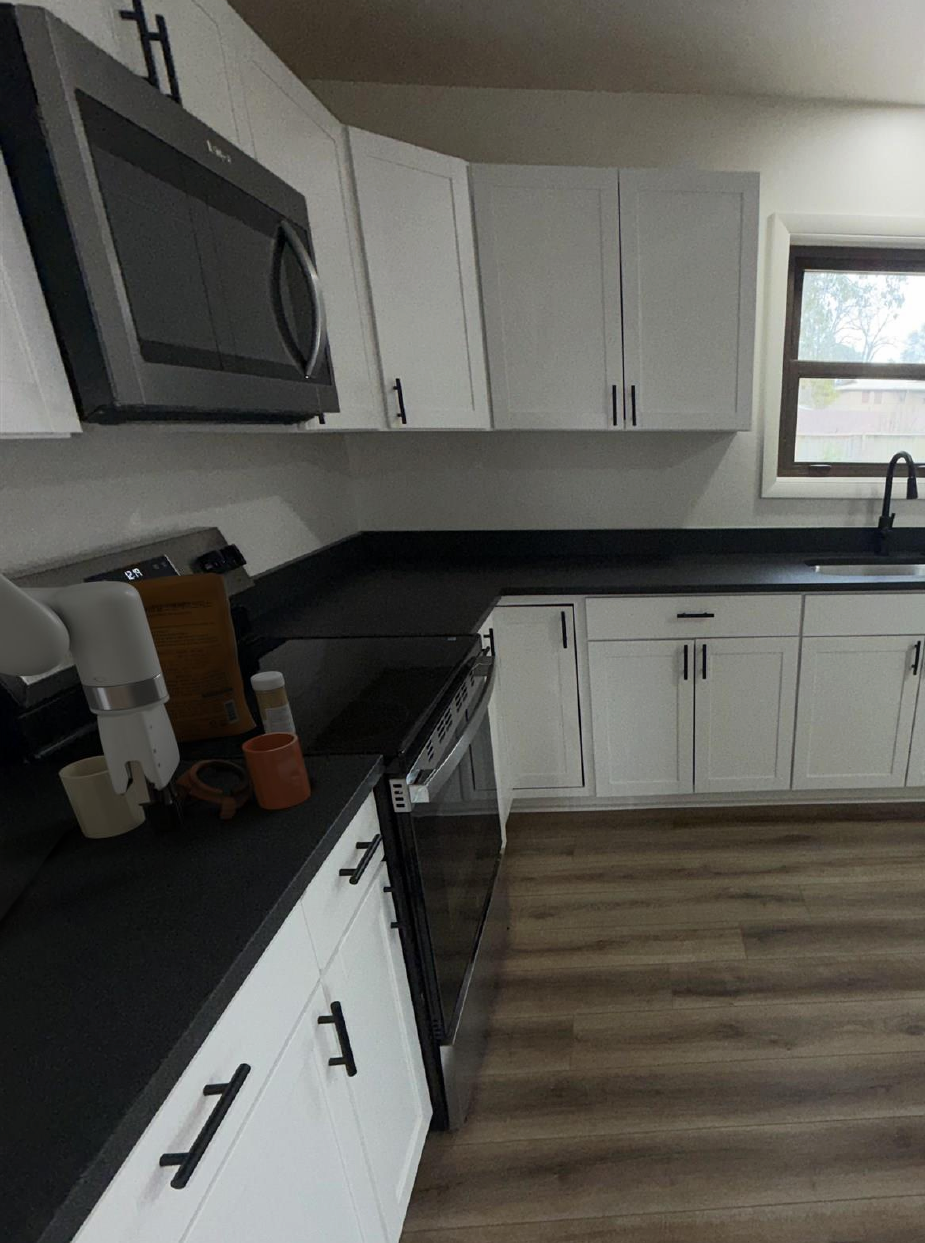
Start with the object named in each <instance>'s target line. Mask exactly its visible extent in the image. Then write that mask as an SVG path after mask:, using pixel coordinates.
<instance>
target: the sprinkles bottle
mask: <svg viewBox="0 0 925 1243" xmlns="http://www.w3.org/2000/svg"><path fill="white" fill-rule="evenodd" d="M250 682H251V687H252V689H253V690H254V692H255V696H256V700H257V706H258V708H259V709H258V710H259V714H260V718H261V721H262V725H263V730H264V734H268V733H276V732H289V733H294V734H296V735H297V733H296V728H295V727H296V726H295V723H294V718H293V715H292V710H291V706H290V703H289V701H288V696H287V691H286V686H285V679H284V675H283V673H282V672H280V671H275V670H271V671H262V672H258V673H256V674H254V675H252V676H251V677H250Z"/></svg>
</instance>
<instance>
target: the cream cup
mask: <svg viewBox="0 0 925 1243" xmlns="http://www.w3.org/2000/svg"><path fill="white" fill-rule="evenodd" d="M58 776H59V777H60V780H61V782H62V785H63V787H64V790H65V792H66V796H67V797H68V800H69V803H70V805H71V808H72V810H73V812H74V815H75V817H76V820H77V822H78V825H79V827H80V830H81V832H82V834H83V836H84V837H85V838H89V839H105V838H111V837H116V836H119V835H122V834H125V833H129V832H130V831H132V830H134V829H137V828H138V827H139V826H140V825H142V824H143V823H144V822H145V821H146V814H145V813H146V812H145V811H144V810H145V809H144V807H143V806H139V805H138V801H137V796H136V792H135V787H134V783H132V785H131V786H130V788H129V789H128V791H127V792H126V793H125V794H124V795H121V796H120V795H118V794H116V793H115V791H114V788H113V785H112V781H111V778H110V774H109V770H108V767H107V763H106V759H105V755H104V754H103V755H96V756H91V757H88V758H87V757H86V758H84V759H83V758H82V759H81V760H78V761H74V762H72V763H70V764H68V765H65V767H63V768H61V769H60V770H59V772H58Z"/></svg>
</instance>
